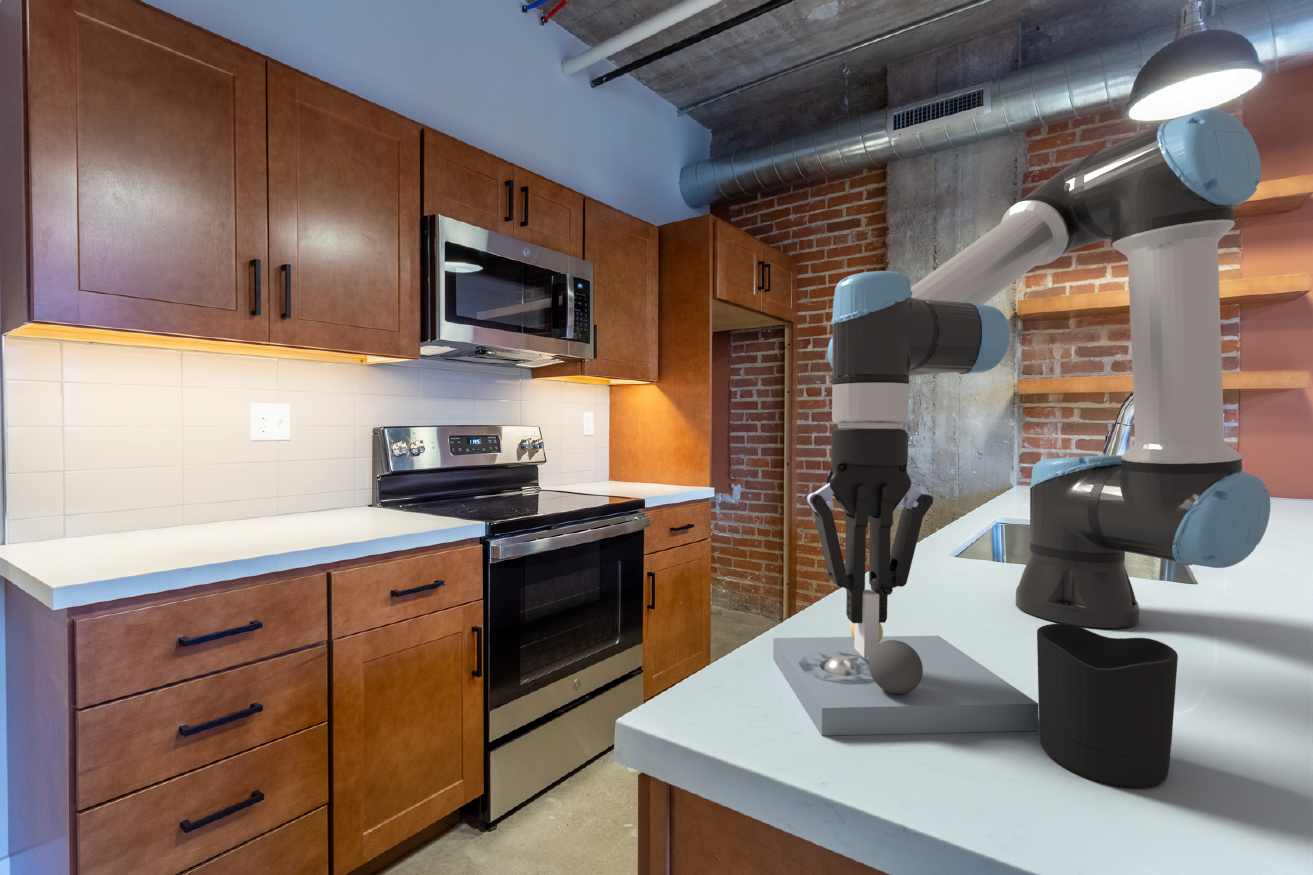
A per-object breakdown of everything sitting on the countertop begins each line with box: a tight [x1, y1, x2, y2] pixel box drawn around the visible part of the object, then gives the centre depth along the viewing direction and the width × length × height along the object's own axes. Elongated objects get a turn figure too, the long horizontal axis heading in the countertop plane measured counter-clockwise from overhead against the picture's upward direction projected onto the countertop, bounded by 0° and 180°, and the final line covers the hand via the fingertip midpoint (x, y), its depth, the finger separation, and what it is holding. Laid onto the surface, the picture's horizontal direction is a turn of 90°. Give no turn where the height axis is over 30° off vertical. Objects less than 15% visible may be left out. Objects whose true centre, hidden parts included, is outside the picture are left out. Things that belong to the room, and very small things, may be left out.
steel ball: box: [823, 657, 858, 676], centre depth 65 cm, size 4×4×4 cm
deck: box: [772, 635, 1039, 736], centre depth 65 cm, size 20×18×2 cm
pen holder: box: [1036, 623, 1179, 789], centre depth 52 cm, size 9×9×10 cm
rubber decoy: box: [869, 640, 923, 694], centre depth 59 cm, size 5×5×5 cm
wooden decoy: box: [850, 622, 884, 642], centre depth 71 cm, size 4×4×4 cm
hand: (866, 652), depth 65 cm, fingers closed
